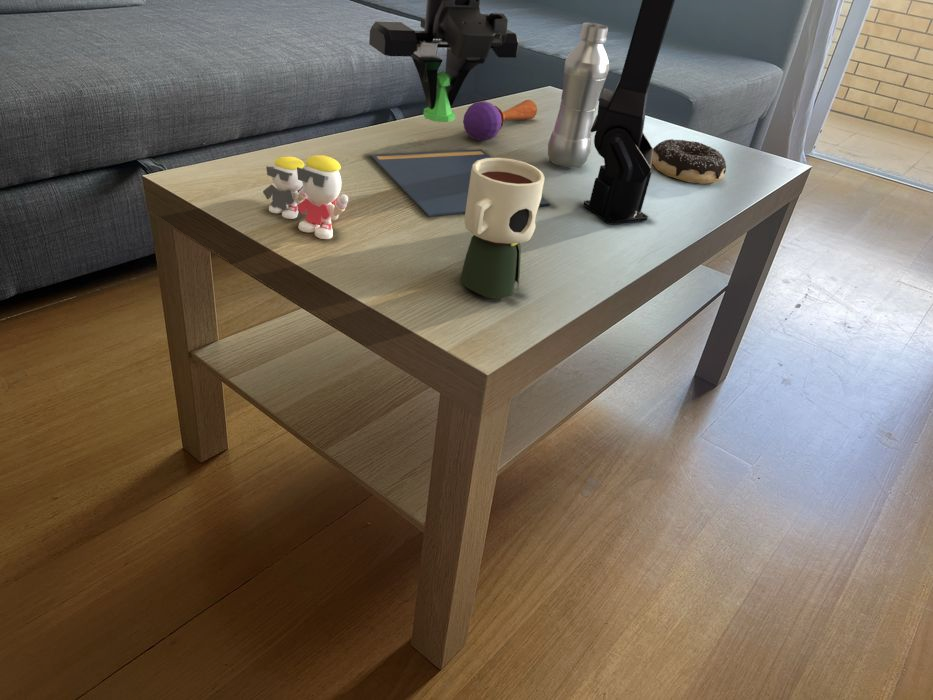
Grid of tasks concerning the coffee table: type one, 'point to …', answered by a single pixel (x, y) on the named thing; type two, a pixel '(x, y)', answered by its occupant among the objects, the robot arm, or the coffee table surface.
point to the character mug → (499, 223)
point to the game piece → (441, 101)
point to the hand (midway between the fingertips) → (439, 108)
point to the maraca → (494, 118)
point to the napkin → (434, 178)
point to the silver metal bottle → (579, 98)
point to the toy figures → (307, 192)
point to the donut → (689, 161)
